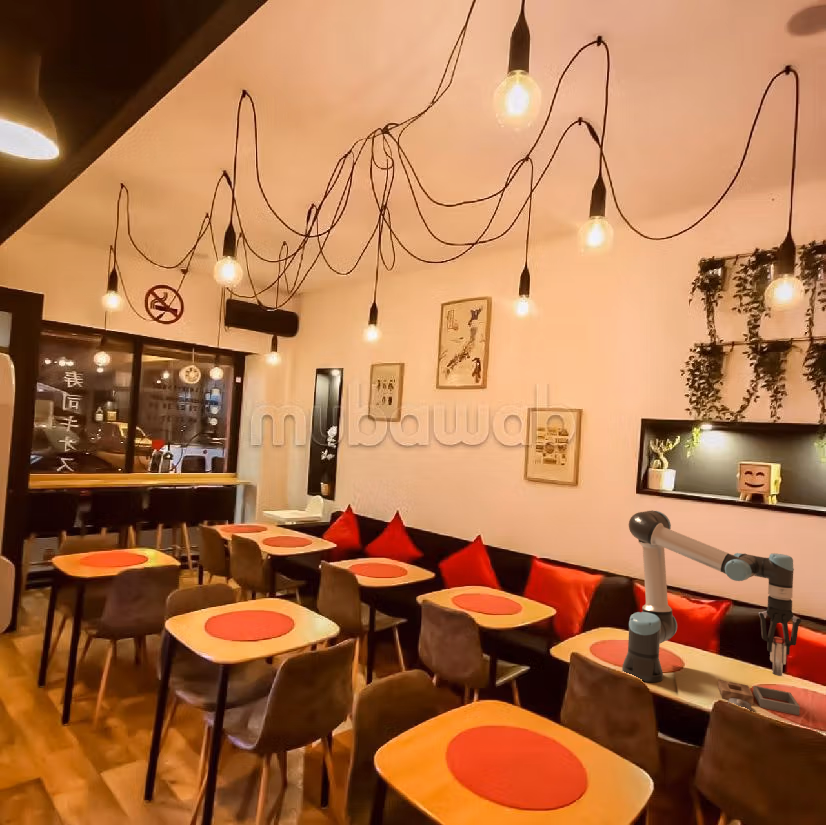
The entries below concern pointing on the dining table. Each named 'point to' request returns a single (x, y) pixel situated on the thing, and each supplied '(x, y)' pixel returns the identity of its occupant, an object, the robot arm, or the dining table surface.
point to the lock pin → (778, 656)
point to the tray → (788, 707)
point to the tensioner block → (736, 693)
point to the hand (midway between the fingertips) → (777, 661)
